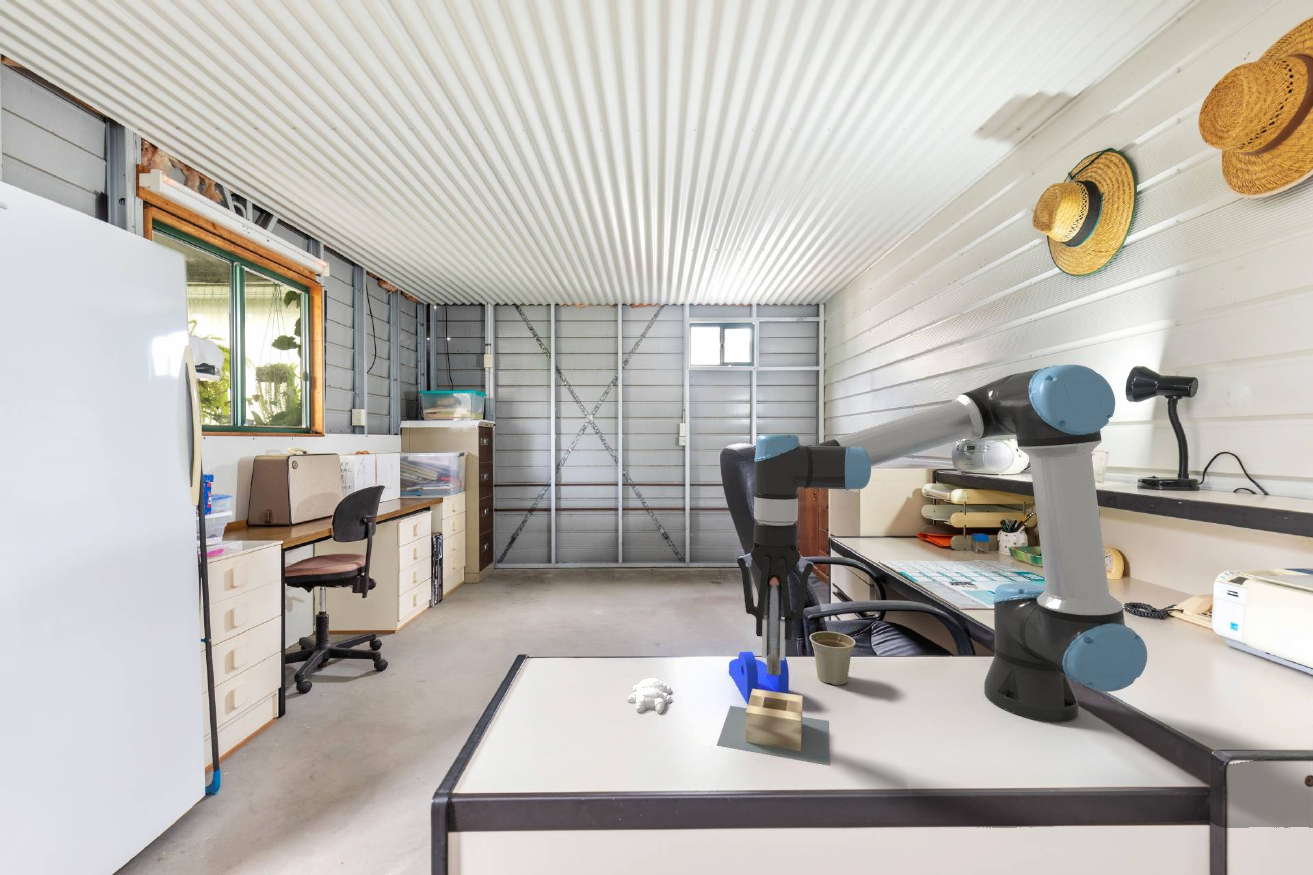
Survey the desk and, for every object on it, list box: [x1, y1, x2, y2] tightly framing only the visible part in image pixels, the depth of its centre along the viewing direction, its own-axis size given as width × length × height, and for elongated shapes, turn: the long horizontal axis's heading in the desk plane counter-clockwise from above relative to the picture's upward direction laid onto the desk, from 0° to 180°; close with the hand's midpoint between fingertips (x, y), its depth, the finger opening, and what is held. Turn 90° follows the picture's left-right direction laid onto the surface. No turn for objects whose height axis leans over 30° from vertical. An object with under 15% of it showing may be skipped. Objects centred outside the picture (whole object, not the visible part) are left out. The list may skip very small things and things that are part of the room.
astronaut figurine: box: [627, 677, 673, 715], centre depth 106 cm, size 9×12×3 cm
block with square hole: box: [746, 689, 804, 751], centre depth 93 cm, size 9×9×5 cm
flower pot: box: [809, 631, 856, 686], centre depth 115 cm, size 9×9×9 cm
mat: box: [716, 705, 831, 766], centre depth 93 cm, size 18×14×1 cm
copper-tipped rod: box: [766, 575, 783, 676], centre depth 93 cm, size 3×3×17 cm
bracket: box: [728, 651, 790, 706], centre depth 112 cm, size 18×8×9 cm, turn 6°
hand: (773, 655), depth 93 cm, fingers closed on copper-tipped rod, 2 cm apart
